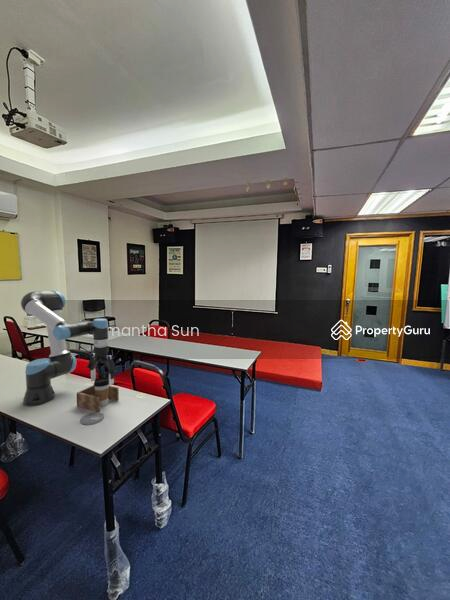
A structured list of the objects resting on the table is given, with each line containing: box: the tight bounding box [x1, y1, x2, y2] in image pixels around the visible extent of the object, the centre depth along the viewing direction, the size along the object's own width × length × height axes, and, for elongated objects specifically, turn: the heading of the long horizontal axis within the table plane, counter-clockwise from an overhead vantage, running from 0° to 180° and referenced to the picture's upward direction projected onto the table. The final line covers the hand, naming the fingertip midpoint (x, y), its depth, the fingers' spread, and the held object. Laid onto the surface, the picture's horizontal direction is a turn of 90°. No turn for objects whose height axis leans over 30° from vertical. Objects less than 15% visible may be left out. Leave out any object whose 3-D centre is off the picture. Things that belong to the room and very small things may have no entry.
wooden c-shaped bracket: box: [76, 384, 120, 413], centre depth 150 cm, size 16×15×8 cm
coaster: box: [79, 411, 105, 426], centre depth 134 cm, size 11×11×1 cm
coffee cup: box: [93, 377, 109, 408], centre depth 148 cm, size 8×8×15 cm
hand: (102, 382), depth 148 cm, fingers open, 13 cm apart
